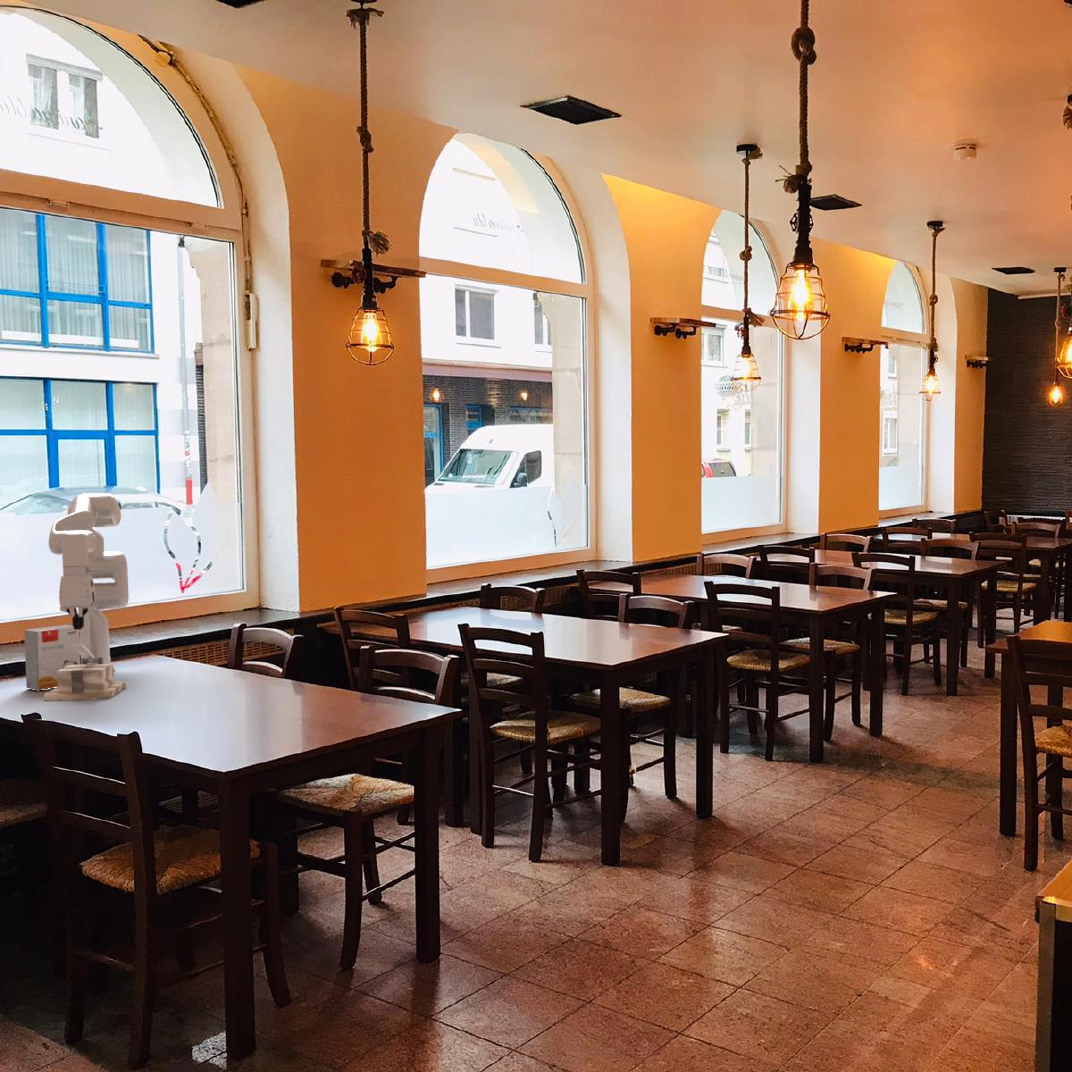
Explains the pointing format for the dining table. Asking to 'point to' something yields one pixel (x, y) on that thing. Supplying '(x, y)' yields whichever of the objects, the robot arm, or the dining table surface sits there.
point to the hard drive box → (49, 654)
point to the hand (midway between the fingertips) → (78, 629)
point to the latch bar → (85, 653)
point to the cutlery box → (85, 682)
